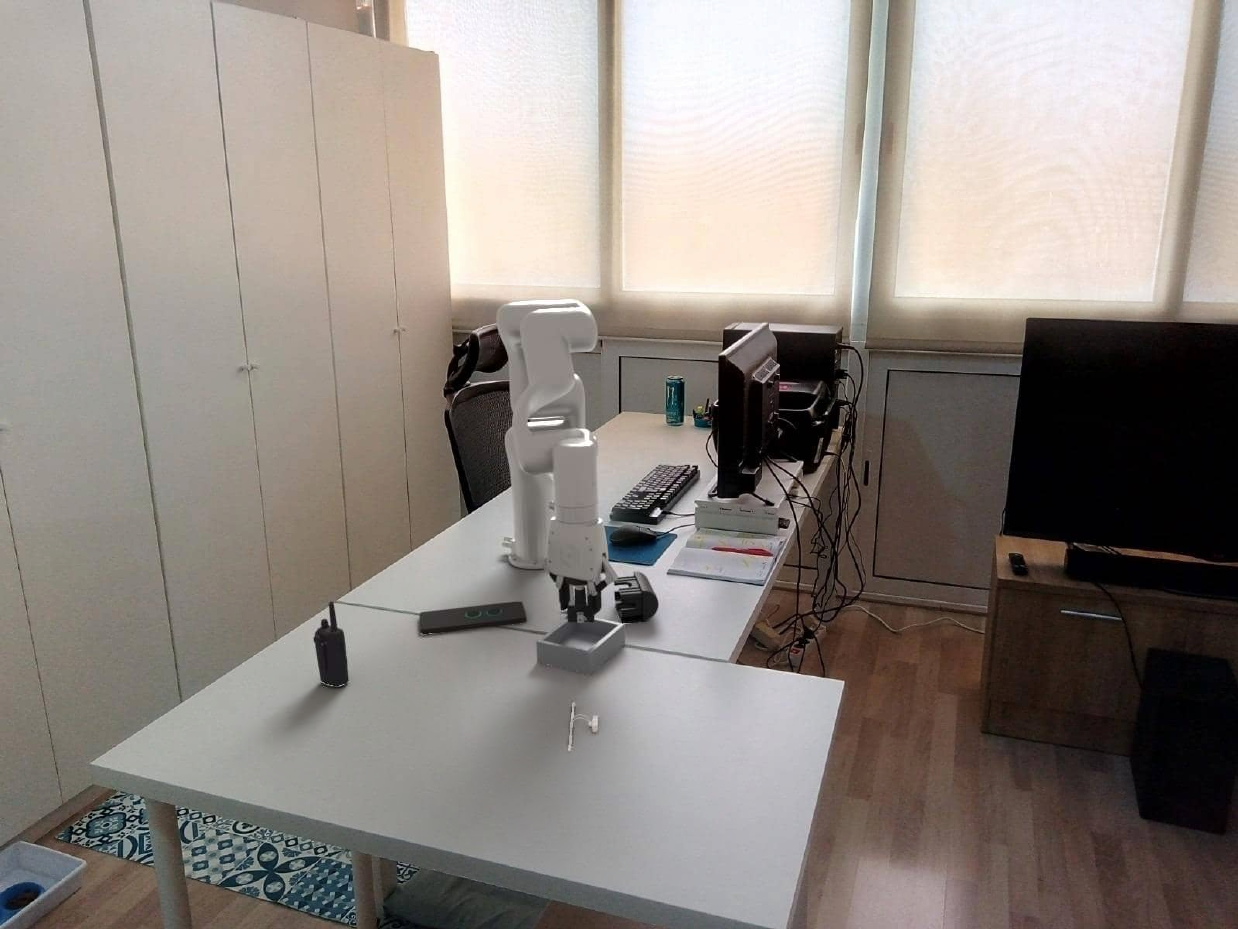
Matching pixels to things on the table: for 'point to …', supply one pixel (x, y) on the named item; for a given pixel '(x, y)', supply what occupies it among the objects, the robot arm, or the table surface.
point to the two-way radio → (331, 651)
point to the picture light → (591, 723)
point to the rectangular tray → (581, 644)
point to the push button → (577, 602)
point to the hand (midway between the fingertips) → (580, 609)
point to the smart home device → (472, 617)
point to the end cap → (635, 599)
